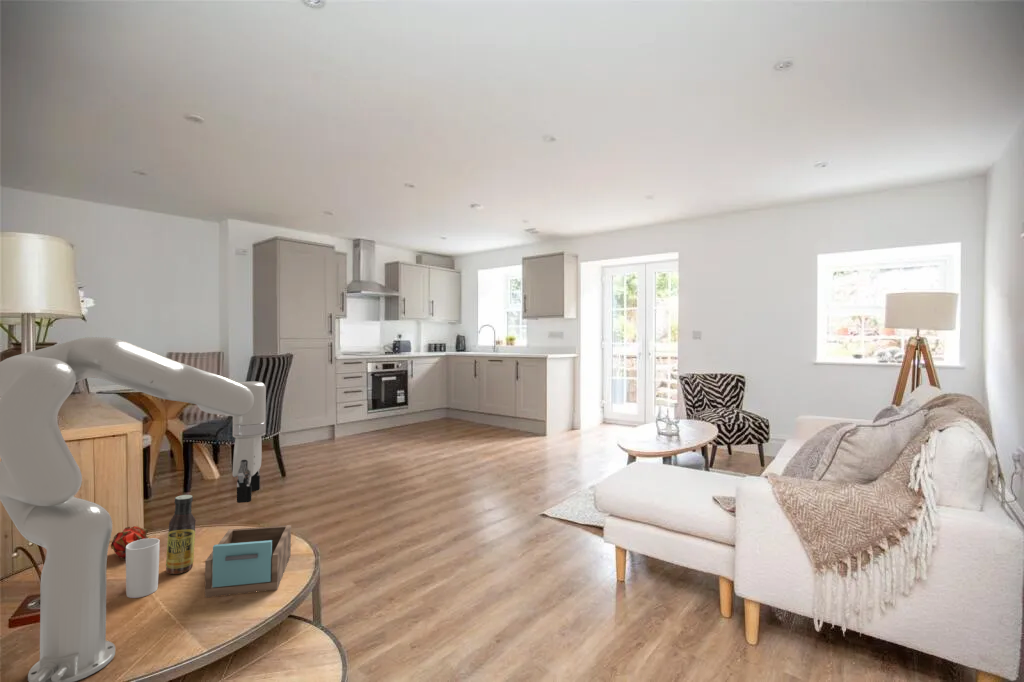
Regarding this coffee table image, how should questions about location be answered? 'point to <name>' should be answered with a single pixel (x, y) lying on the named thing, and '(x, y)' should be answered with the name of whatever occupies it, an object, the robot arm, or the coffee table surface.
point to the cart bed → (274, 533)
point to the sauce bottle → (181, 537)
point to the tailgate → (242, 563)
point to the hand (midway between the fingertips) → (248, 495)
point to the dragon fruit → (127, 539)
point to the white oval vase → (142, 567)
